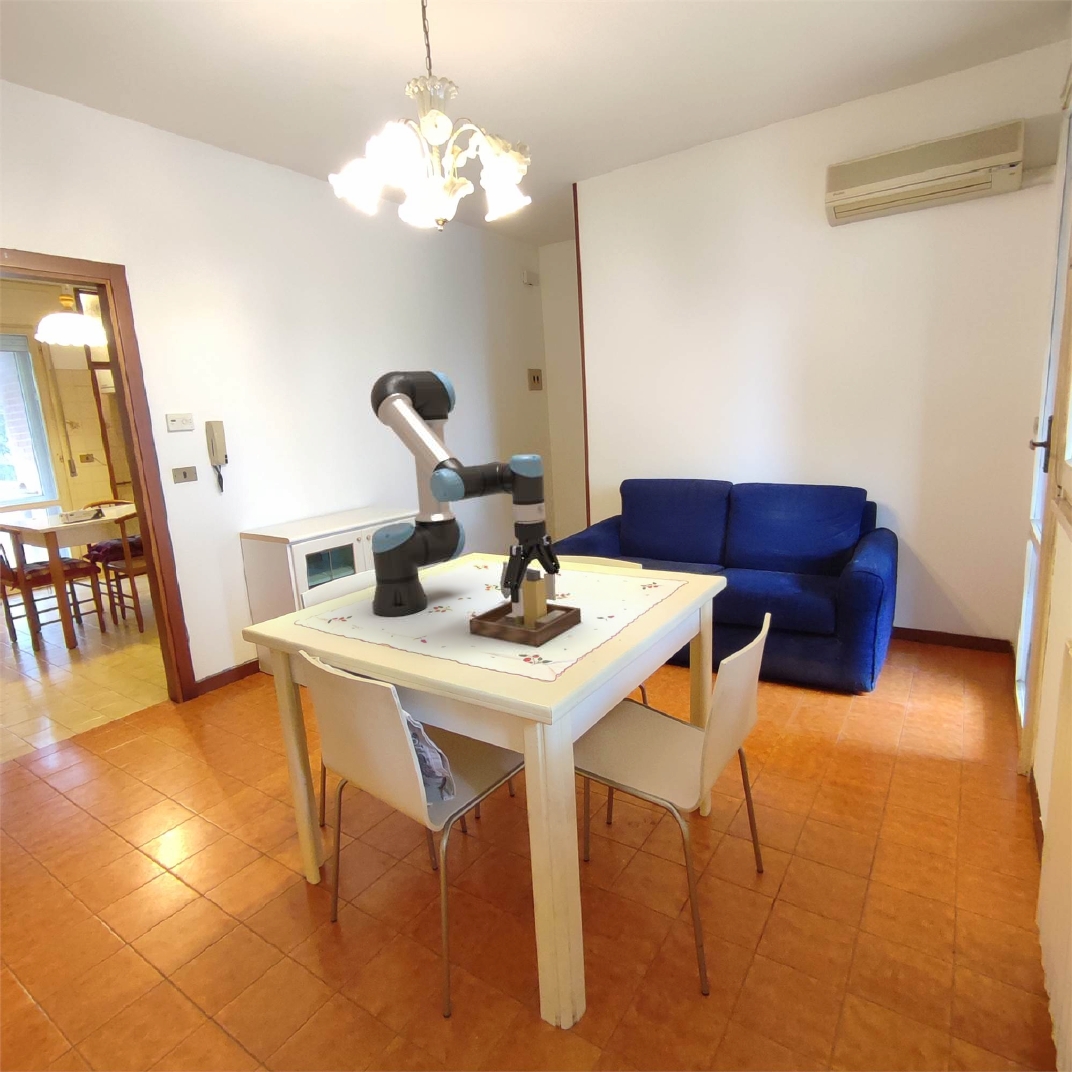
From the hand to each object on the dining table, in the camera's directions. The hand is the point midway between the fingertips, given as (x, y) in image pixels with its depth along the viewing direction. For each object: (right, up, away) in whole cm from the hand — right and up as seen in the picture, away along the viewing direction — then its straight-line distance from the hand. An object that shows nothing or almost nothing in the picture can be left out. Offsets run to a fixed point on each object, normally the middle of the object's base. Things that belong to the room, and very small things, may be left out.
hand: (535, 607), depth 151 cm
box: (-2, -5, +3) cm, 6 cm away
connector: (0, -5, +1) cm, 5 cm away
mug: (-4, -2, +22) cm, 22 cm away
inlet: (0, -6, +1) cm, 6 cm away
